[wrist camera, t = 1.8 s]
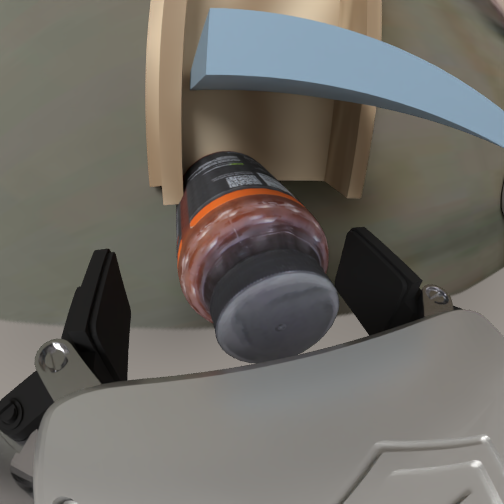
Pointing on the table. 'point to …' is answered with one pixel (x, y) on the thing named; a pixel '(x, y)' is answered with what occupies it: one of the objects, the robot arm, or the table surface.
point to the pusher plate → (334, 69)
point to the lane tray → (251, 104)
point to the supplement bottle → (252, 259)
